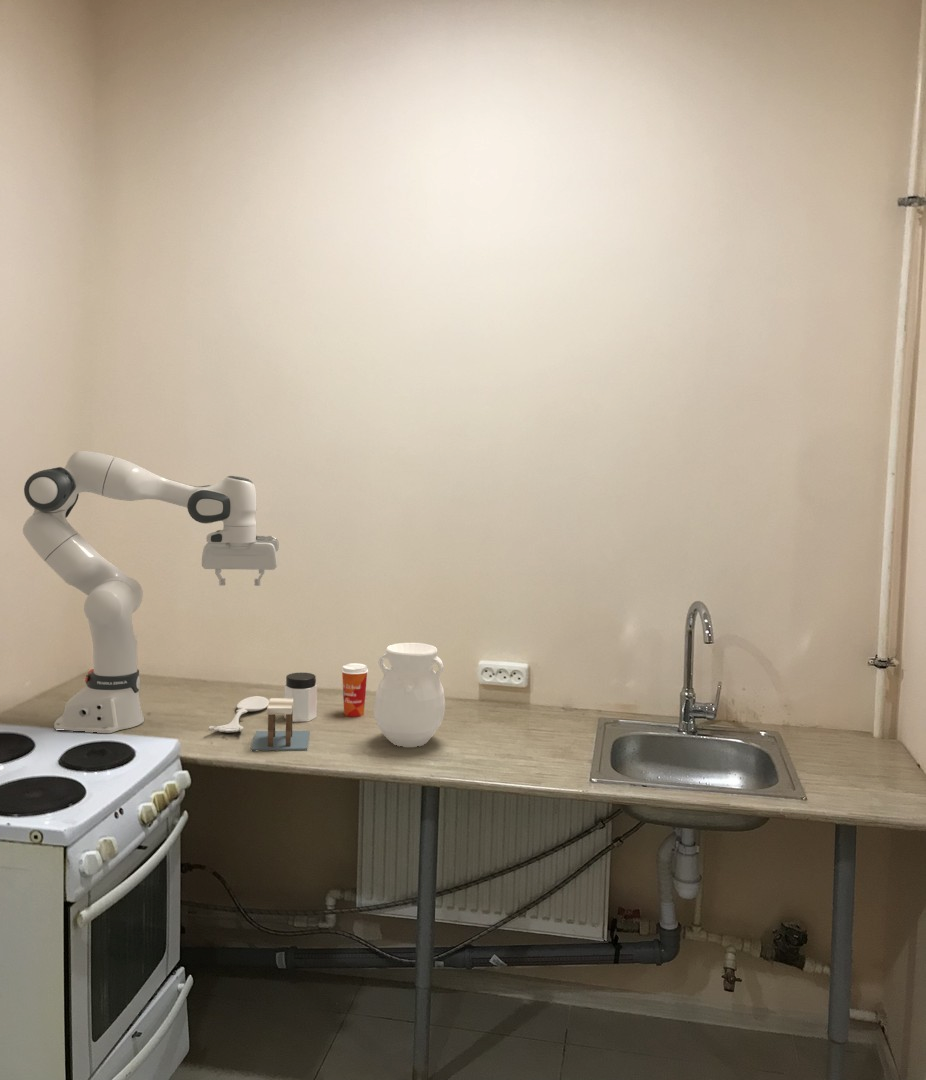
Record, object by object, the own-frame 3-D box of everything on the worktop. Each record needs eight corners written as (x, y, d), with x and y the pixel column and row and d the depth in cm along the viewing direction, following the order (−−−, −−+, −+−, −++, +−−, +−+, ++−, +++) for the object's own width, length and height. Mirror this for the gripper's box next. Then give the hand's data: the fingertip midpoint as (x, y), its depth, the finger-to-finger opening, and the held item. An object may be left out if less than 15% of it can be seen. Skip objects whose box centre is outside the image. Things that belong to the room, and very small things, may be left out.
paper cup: (335, 715, 261) (335, 667, 260) (350, 708, 268) (351, 661, 266) (357, 719, 258) (358, 671, 256) (373, 712, 264) (374, 665, 263)
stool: (269, 735, 241) (270, 698, 239) (293, 735, 241) (293, 698, 240) (267, 746, 232) (267, 708, 231) (291, 746, 232) (291, 708, 231)
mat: (250, 751, 230) (250, 749, 230) (256, 733, 244) (256, 731, 244) (307, 750, 232) (307, 748, 232) (309, 732, 245) (309, 730, 245)
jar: (321, 719, 257) (322, 677, 256) (295, 724, 252) (296, 681, 251) (305, 711, 264) (305, 670, 263) (279, 716, 259) (280, 674, 257)
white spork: (207, 738, 239) (207, 726, 238) (243, 703, 270) (243, 692, 270) (241, 740, 238) (241, 727, 238) (273, 705, 270) (273, 693, 270)
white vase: (452, 734, 247) (455, 643, 244) (432, 756, 230) (434, 659, 227) (387, 726, 252) (389, 637, 249) (362, 747, 235) (364, 652, 232)
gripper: (279, 534, 256) (279, 583, 258) (204, 533, 254) (204, 583, 255) (277, 537, 250) (277, 587, 252) (200, 536, 248) (200, 586, 249)
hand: (239, 585), depth 253 cm, fingers open, 8 cm apart
